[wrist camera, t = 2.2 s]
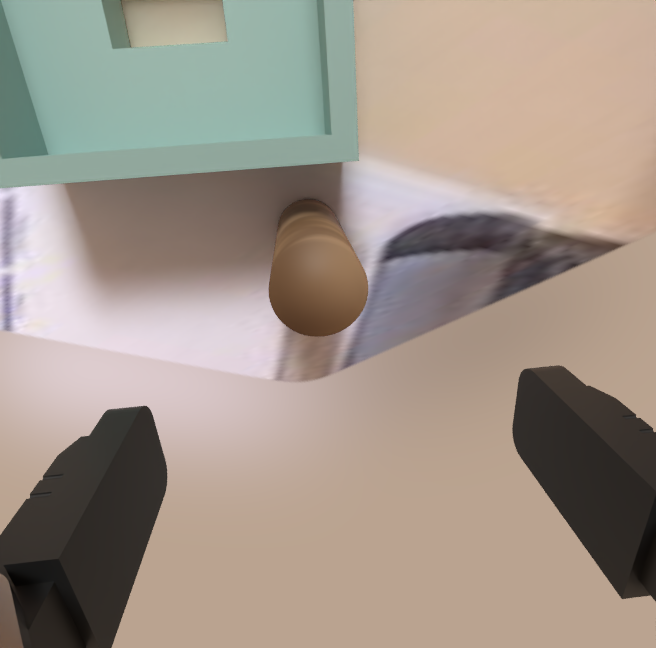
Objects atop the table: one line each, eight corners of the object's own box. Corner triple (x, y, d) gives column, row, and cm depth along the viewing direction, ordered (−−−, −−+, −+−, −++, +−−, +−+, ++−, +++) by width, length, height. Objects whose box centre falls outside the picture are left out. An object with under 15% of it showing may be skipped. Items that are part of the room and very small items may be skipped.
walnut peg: (336, 196, 28) (366, 238, 17) (340, 257, 29) (369, 332, 18) (274, 201, 27) (262, 246, 16) (281, 262, 29) (275, 340, 18)
